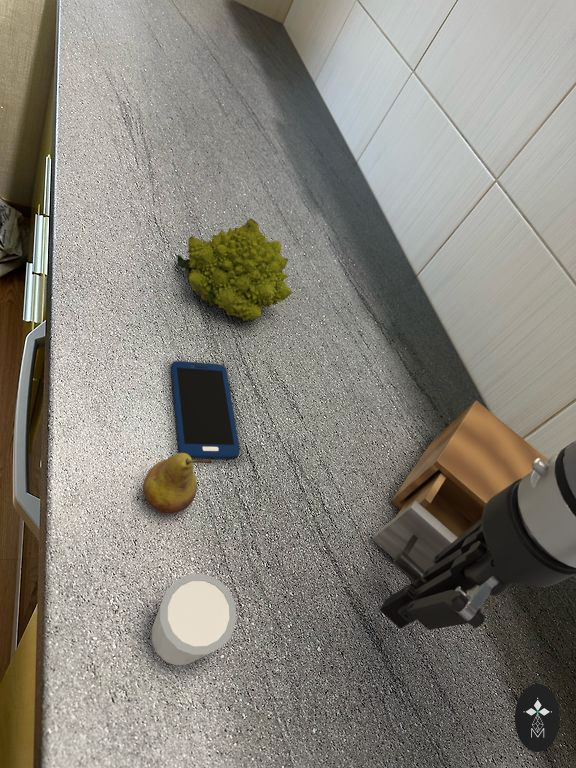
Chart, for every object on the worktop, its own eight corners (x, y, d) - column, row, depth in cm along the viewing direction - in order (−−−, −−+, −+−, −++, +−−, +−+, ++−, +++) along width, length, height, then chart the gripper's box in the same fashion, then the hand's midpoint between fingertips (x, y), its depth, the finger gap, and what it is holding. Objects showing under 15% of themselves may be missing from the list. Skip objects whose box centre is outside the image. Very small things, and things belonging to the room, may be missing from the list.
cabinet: (462, 564, 72) (519, 531, 64) (390, 501, 74) (436, 460, 66) (496, 496, 81) (549, 460, 74) (431, 441, 83) (476, 400, 75)
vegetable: (149, 240, 80) (233, 182, 74) (215, 275, 94) (291, 227, 88) (174, 332, 75) (266, 278, 70) (240, 355, 89) (321, 311, 83)
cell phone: (179, 458, 66) (180, 455, 65) (169, 363, 74) (170, 359, 73) (239, 459, 69) (241, 456, 68) (224, 367, 77) (225, 364, 76)
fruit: (186, 473, 65) (215, 416, 57) (192, 520, 62) (224, 468, 53) (136, 474, 63) (159, 415, 54) (140, 523, 60) (164, 469, 51)
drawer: (426, 631, 64) (475, 607, 57) (354, 565, 65) (393, 534, 59) (477, 530, 75) (522, 500, 69) (414, 476, 77) (453, 442, 70)
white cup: (138, 605, 55) (153, 581, 50) (206, 590, 58) (226, 566, 53) (151, 682, 51) (168, 664, 46) (223, 661, 55) (246, 643, 50)
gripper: (537, 436, 46) (391, 545, 64) (485, 545, 38) (333, 637, 55) (613, 499, 45) (444, 592, 63) (578, 626, 37) (393, 694, 54)
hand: (392, 613), depth 59 cm, fingers closed
